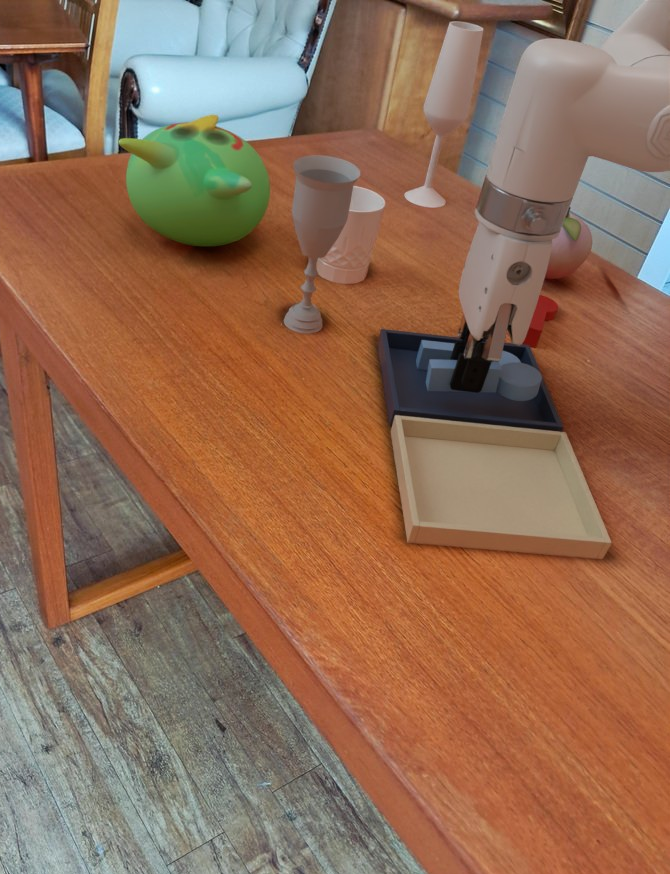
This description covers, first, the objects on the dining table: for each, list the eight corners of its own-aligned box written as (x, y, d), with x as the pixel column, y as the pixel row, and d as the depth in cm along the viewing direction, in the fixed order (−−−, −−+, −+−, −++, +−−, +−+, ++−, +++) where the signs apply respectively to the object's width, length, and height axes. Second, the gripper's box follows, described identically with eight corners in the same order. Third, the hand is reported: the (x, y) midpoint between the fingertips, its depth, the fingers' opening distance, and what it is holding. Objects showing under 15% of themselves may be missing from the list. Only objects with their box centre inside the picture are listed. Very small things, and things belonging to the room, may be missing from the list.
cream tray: (557, 451, 80) (565, 432, 78) (600, 562, 68) (612, 542, 67) (389, 434, 78) (394, 414, 76) (406, 546, 67) (412, 525, 65)
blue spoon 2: (532, 377, 82) (538, 354, 81) (542, 401, 79) (549, 378, 77) (423, 374, 82) (427, 351, 80) (429, 399, 79) (433, 375, 77)
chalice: (320, 349, 88) (348, 189, 76) (263, 332, 89) (282, 171, 77) (340, 320, 93) (369, 166, 81) (286, 304, 94) (307, 149, 82)
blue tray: (522, 363, 91) (529, 345, 90) (555, 446, 80) (563, 426, 78) (376, 347, 90) (380, 328, 88) (388, 430, 79) (394, 409, 77)
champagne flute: (396, 197, 123) (433, 22, 107) (416, 186, 128) (455, 17, 112) (434, 211, 121) (478, 35, 105) (453, 200, 125) (498, 29, 109)
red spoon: (521, 303, 102) (528, 283, 100) (555, 312, 102) (562, 293, 100) (509, 344, 94) (516, 323, 92) (545, 354, 93) (554, 334, 91)
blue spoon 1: (512, 365, 90) (520, 343, 88) (520, 387, 86) (528, 365, 85) (414, 354, 89) (419, 332, 87) (418, 376, 85) (424, 354, 84)
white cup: (360, 295, 98) (376, 217, 92) (301, 278, 100) (312, 200, 93) (376, 269, 104) (392, 194, 97) (319, 254, 105) (331, 179, 98)
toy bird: (274, 227, 110) (287, 115, 100) (247, 282, 97) (259, 160, 87) (148, 202, 110) (149, 88, 100) (106, 253, 98) (102, 129, 88)
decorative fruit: (588, 294, 107) (618, 222, 100) (536, 296, 104) (563, 223, 98) (553, 261, 113) (579, 192, 106) (503, 262, 111) (526, 191, 104)
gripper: (589, 252, 63) (514, 434, 75) (542, 177, 74) (484, 346, 86) (497, 240, 62) (437, 426, 74) (465, 166, 73) (417, 338, 86)
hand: (463, 382), depth 80 cm, fingers closed on blue spoon 2, 1 cm apart
